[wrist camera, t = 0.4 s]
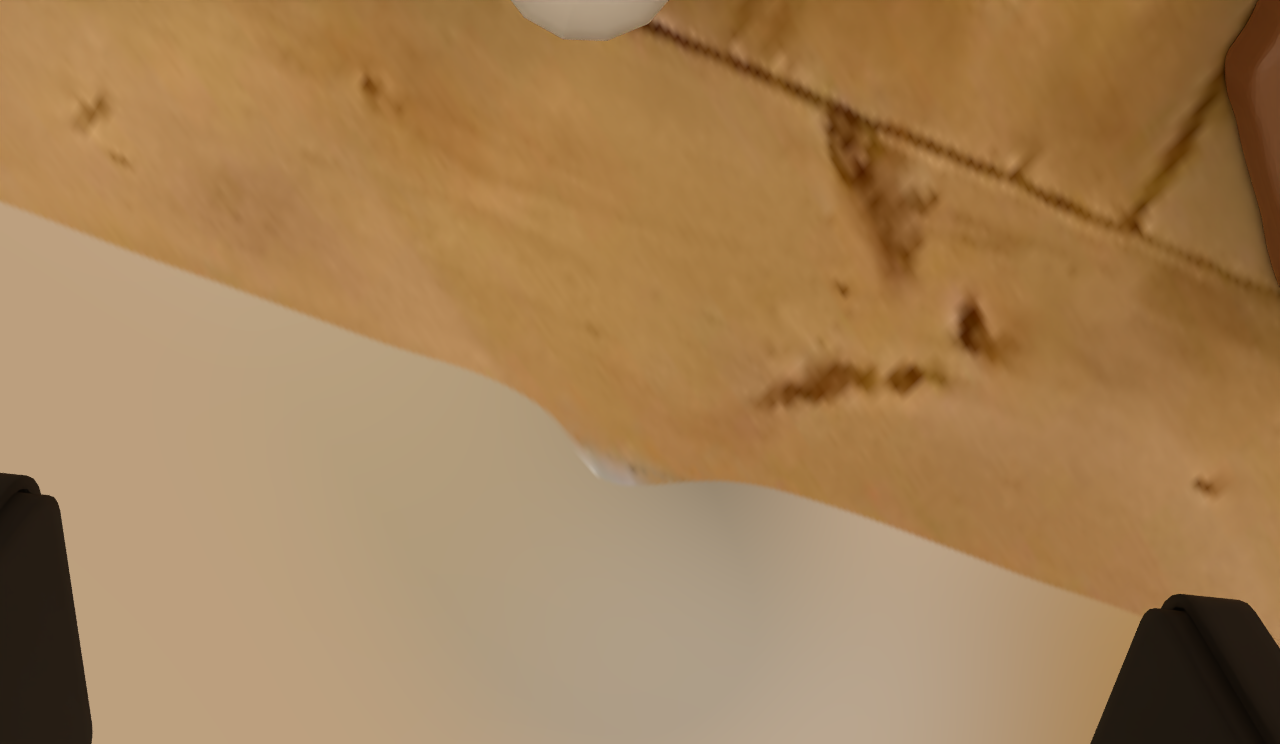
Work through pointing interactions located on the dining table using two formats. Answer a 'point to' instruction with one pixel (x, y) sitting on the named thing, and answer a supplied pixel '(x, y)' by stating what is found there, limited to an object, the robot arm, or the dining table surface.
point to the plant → (1260, 112)
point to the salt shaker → (589, 16)
